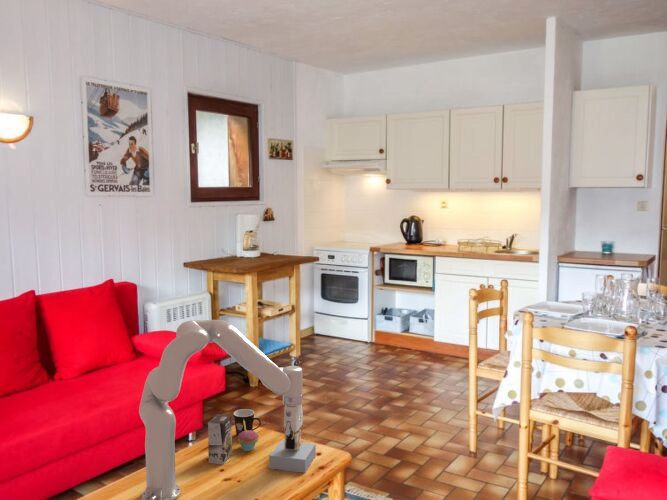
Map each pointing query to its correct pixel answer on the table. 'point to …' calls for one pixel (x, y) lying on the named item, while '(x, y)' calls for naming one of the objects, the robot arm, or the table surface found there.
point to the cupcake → (247, 439)
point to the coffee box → (220, 438)
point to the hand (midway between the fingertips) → (292, 445)
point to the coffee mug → (248, 418)
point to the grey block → (292, 457)
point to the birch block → (297, 439)
